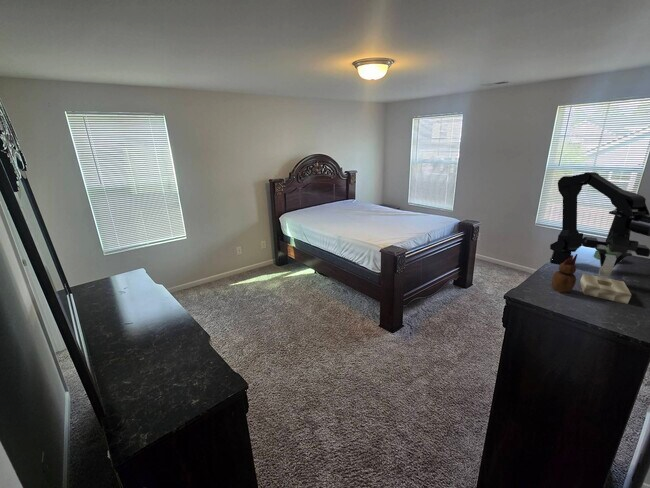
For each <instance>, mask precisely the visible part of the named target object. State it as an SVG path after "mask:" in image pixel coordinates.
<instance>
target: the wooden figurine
mask: <svg viewBox="0 0 650 488" xmlns="http://www.w3.org/2000/svg"><path fill="white" fill-rule="evenodd" d="M571 255H572V254H571ZM577 258H578V254H577V253H576V254H575V255H572V256H571V258H568V260H565V262H563V263H561V264H560V265H558V270H557V271H556V272H554V273H553V275H552V280H551V288H552V289H553V290H555V291H556V292H558V293H561V294H562V293H569V292H572V290H573V289H574V288H575V285H576V283H577V277H576V275H575V273H576V270H577V266H576V265H575V264H576V262H577Z"/></svg>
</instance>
